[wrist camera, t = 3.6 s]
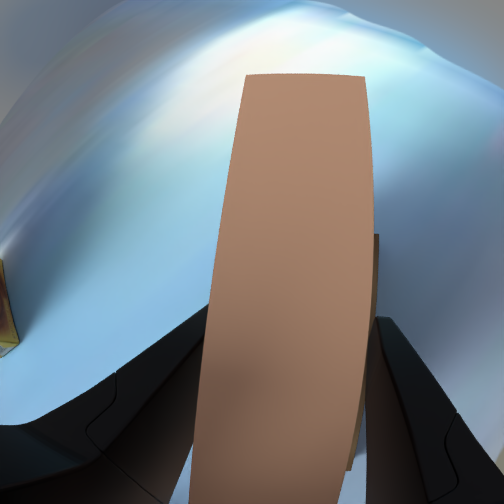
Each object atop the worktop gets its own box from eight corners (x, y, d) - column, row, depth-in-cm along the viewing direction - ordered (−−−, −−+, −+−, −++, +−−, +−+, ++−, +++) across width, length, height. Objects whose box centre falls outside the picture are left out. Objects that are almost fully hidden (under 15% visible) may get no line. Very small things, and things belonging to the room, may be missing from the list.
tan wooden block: (305, 522, 8) (289, 628, 3) (238, 513, 8) (183, 608, 3) (347, 189, 11) (364, 76, 5) (278, 185, 11) (246, 74, 6)
